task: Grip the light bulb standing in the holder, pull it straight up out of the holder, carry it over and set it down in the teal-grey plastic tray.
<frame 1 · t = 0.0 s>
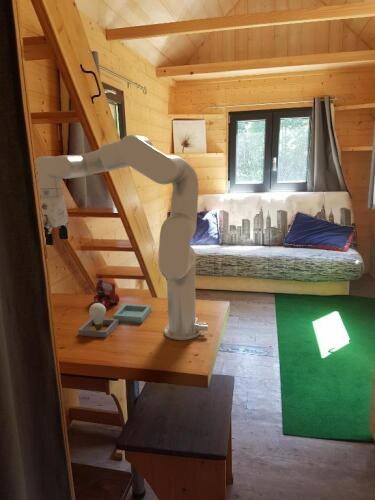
hand: (56, 241, 133), 31 cm above the table, tool pointing down, fingers open, 9 cm apart
tray: (133, 316, 145), on the table
holder: (99, 329, 135), on the table
light bulb: (99, 330, 135), resting in holder
toy fire truck: (106, 303, 159), on the table
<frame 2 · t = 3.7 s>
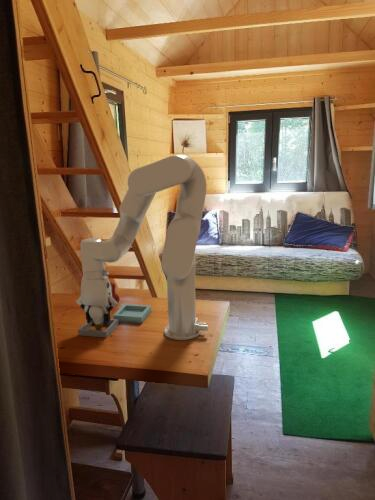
hand: (98, 321, 134), 3 cm above the table, tool pointing down, fingers closed on light bulb, 5 cm apart
light bulb: (99, 330, 135), resting in holder, touching gripper
everything else where it was.
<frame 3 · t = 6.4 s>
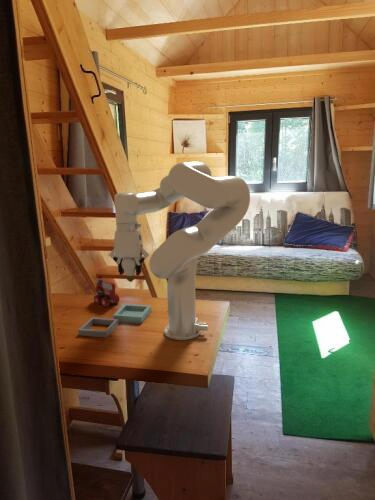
hand: (130, 273, 141), 17 cm above the table, tool pointing down, fingers closed on light bulb, 5 cm apart
light bulb: (130, 282, 142), point 14 cm above the table, touching gripper
everything else where it was.
when the fingers open (5 cm above the table, at t = 9.5 s): light bulb drops 1 cm, resting on tray.
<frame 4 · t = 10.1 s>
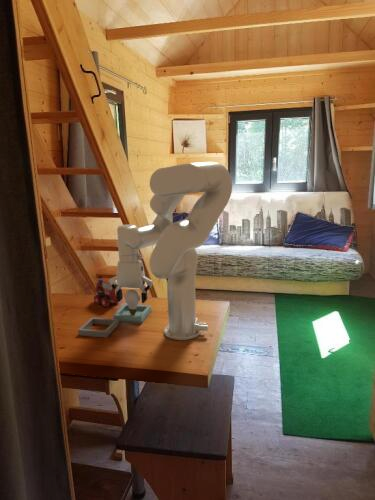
hand: (132, 301, 144), 6 cm above the table, tool pointing down, fingers open, 9 cm apart
light bulb: (133, 314, 145), point 1 cm above the table, touching tray
everything else where it was.
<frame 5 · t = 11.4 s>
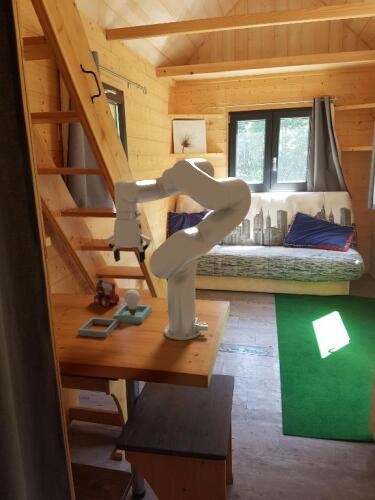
hand: (129, 261, 140), 22 cm above the table, tool pointing down, fingers open, 9 cm apart
nothing on the table moved.
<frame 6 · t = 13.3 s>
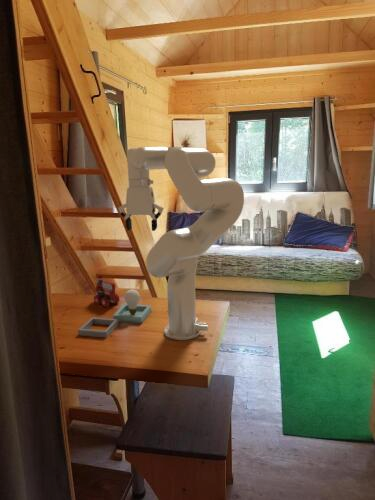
hand: (141, 229, 140), 33 cm above the table, tool pointing down, fingers open, 9 cm apart
nothing on the table moved.
at the end: light bulb inside the target area on the tray (0.0 cm from its centre), point 0.6 cm above the tray's base; the gripper is holding nothing; light bulb moved 15.3 cm from its start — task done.
